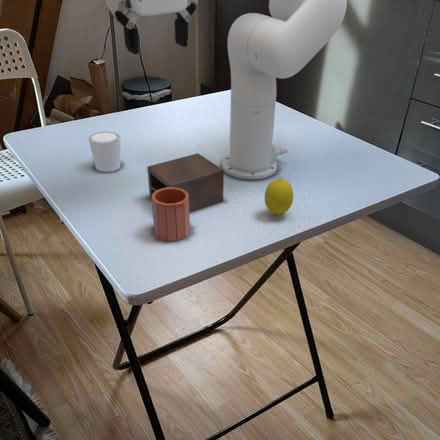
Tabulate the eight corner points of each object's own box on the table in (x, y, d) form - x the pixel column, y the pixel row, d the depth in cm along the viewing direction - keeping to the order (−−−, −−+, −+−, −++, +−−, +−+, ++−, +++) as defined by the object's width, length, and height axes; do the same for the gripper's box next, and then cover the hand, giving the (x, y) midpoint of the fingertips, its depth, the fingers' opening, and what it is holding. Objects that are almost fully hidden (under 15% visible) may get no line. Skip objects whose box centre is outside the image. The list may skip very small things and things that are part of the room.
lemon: (271, 224, 100) (274, 186, 95) (258, 211, 104) (261, 174, 99) (296, 218, 102) (300, 181, 97) (282, 205, 106) (286, 169, 101)
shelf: (198, 183, 113) (198, 152, 109) (223, 201, 107) (223, 170, 103) (149, 197, 108) (147, 166, 103) (172, 217, 102) (171, 185, 97)
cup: (178, 219, 101) (176, 184, 97) (196, 234, 97) (195, 198, 92) (148, 228, 98) (145, 193, 94) (165, 244, 94) (163, 208, 90)
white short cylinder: (117, 174, 116) (113, 144, 111) (88, 171, 117) (83, 141, 112) (127, 161, 121) (124, 132, 117) (99, 158, 122) (95, 129, 118)
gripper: (110, -65, 75) (122, 60, 86) (210, -69, 83) (210, 47, 93) (89, -69, 80) (103, 50, 91) (186, -73, 87) (188, 38, 98)
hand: (157, 48), depth 92 cm, fingers open, 9 cm apart
